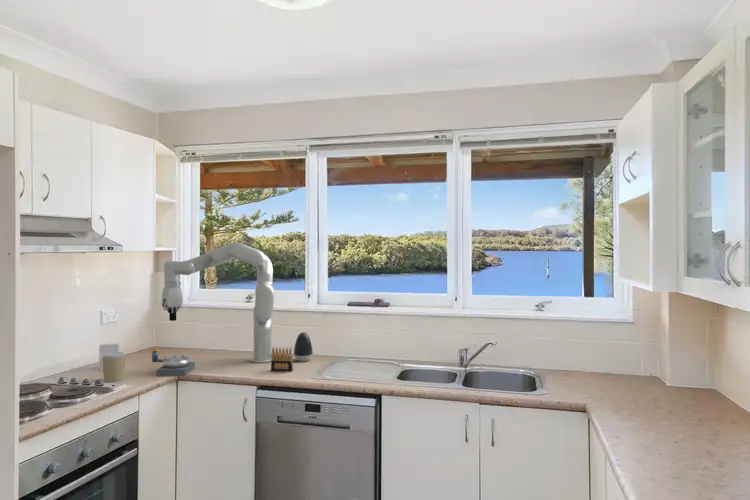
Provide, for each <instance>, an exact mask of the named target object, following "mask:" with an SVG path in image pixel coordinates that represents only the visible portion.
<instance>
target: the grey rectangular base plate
mask: <svg viewBox="0 0 750 500" xmlns="http://www.w3.org/2000/svg"><path fill="white" fill-rule="evenodd" d="M195 366H196V365H195V361H189V365H188V366H185V367H180V368H165V367H163V365H162V366H160V367H159V368H157V369H156V377H179V376H180V377H181V376H183V377H184V376H186V375H188V374H189V373H190V372H191V371H192V370H194V369H195Z"/></svg>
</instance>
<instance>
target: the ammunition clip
mask: <svg viewBox="0 0 750 500" xmlns="http://www.w3.org/2000/svg"><path fill="white" fill-rule="evenodd" d="M271 351H272V361H271V362H270V363H271V365H270V371H271V372H285V371H287V372H289V373H291V372H293V371H294V368H293V354H292V353H293V350H292V347H291V346H290V347H289V349H288V347H286V348H285V347H284V346H283V347H282V348H281V346H279V349H278V346H276V347H275V346H272V348H271ZM278 354H279V356H278ZM287 372H286V373H287Z"/></svg>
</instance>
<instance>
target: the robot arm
mask: <svg viewBox="0 0 750 500" xmlns="http://www.w3.org/2000/svg"><path fill="white" fill-rule="evenodd" d="M235 259H236V260H238V261H241V262H242V263H243V262H244V263H247V264H249V265H252V266H253V267H254V266H255V268H256V271H257V273H256V284H255V285H256V286H255V290H254V294H255V298H254V299H255V300H254V307H253V310H252V311H253V312H252V314H253V317H252V318H253V356H252V357H251V358H250V362H252V363H257V364H262V363H264V364H265V363H271V361H272V330H273V329H272V325H273V324H272V323H273V322H272V317H273V313H274V304H275V289H274V287H273V282H274V281H273V280H274V267H273V263H272V261H271V259H270V258H269V256H268V255H266V254H265V253H264V252H263V251H261V250H260V249H257V248H253V247H251V246H249V245H246V244H244V243H241V242H239V241H233V242H231V243H228V244H226V245H222V246H219V247H218V248H215V249H212V250H210V251H207V252H206V253H203V254H201V255H198V256H196V257H193V258H190V259H188V260H183V261H178V260H172V261H171V260H169V261H168V260H167V261H165V262H164V264H163V265H164V266H163V269H164V272H163V273H164V279H163V280H164V282H163V283H164V288H162V291H161V292H162V294H161V307H162V308H163V311H167V313H168V314H169V319H168V320H169V321H172V322H175V321H177V313H178V310H180V309H182V306H183V301H184V299H183V292H182V291H183V290H182V287H181V285H182V282H181V276H190V275H192V274H195V273H197V272H200V271H202V270H206V269H208V268H212V267H217V266H219V265H222V264H225V263H228V262H230V261H232V260H235ZM278 356H279V353H278Z"/></svg>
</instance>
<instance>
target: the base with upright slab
mask: <svg viewBox="0 0 750 500" xmlns="http://www.w3.org/2000/svg"><path fill="white" fill-rule="evenodd" d="M98 350H99V355H98V356H99V358H98V359H99V360H98V363H99V364H98V365H99V366H98V369H99V370H101V371H103V358H102V356H103V355H104V354H107V353H113V352H120V343H119V342H117V343H104V344H103V343H100V344H99V349H98Z"/></svg>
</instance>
